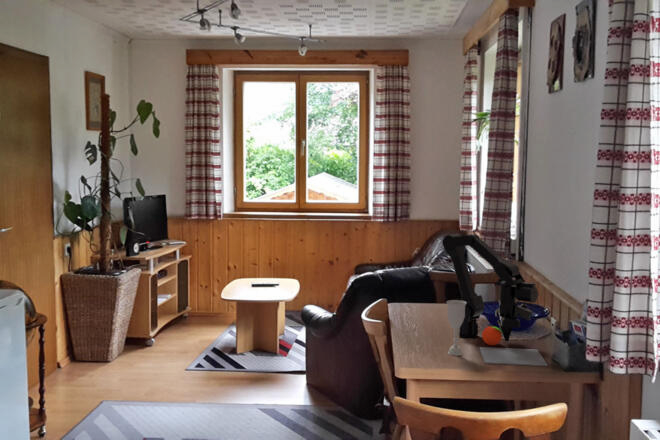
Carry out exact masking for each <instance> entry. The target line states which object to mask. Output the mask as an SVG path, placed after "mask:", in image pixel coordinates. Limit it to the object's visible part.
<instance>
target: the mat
mask: <svg viewBox="0 0 660 440" xmlns="http://www.w3.org/2000/svg"><path fill="white" fill-rule="evenodd" d="M479 351H480V354H481V357H482V360H483V362H484V364H492V365H508V366H509V365H510V366H513V365H515V366H530V367H531V366H532V367H535V366H536V367H548V366H549V365H548V364H547V362H546V360H545V359H544V357H543V356H542V354H541V353H540V352H539V350H538V349H531V348H529V349H528V348H512V347H511V348H510V347H507V348H506V347H490V346H489V347H486V346H484V347H483V346H479Z"/></svg>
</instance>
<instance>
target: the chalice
mask: <svg viewBox="0 0 660 440" xmlns="http://www.w3.org/2000/svg"><path fill="white" fill-rule="evenodd" d="M466 303H467V302H465V301H461V299H460V300H459V299H450V300H447V301H446V304H447V318H448V322H449V324H450V326H451V328H452V329H453V330H454V332H453V336H454V337H453V339H452V340H453V345H451V346H450V348H449V350H448V352H447V354H448V355H449V356H456V357H458V356H462V355H463V352H462V348H461V347H460V346H459V345H458V341H459V339H458V336H459V333H458V330H459V328H460V327H461V325H462V323H463V320H464V318H465V305H466Z"/></svg>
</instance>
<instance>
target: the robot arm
mask: <svg viewBox="0 0 660 440" xmlns="http://www.w3.org/2000/svg"><path fill="white" fill-rule="evenodd" d="M441 244H442V247H443V249H444V251H445V253H446V254H447V255H448V256H449V258H450V259H451V262H452V265H453V269H454V272H455V276H456V280H457V283H458V286H459V291H460V292H461V293H460V294H461V299H460V300H461V301H465V302H467V303H466V305H465V318H464V320H463V323H462V325H461V327H460V328H459V329H458V331H457V334H458V336H459V338H478V335H479V323H478V322H477V320H479V319H480V317H481V315H482V314H483V312H484V310H485V303H484V300H483V296H482V295H481V294H479V295H478V294H477V293H476V291H475V289H474V285H473V282H472V278H471V276H470V275H471V274H470V271H469V268H468V265H467V262H466V257H465V253H466V246H469V247H471V249H473V250H474V251H475V252H476V253H477V254H478V255H479V256H481V258H483V259H484V260H485V261H486V262H487V263H488V264H489V265H490V266H491V267H492V268H493V272H494V273H495V275H497V277H498V278H499V279H498V280H496V282H494V283H493V285H494V286H497V287H498V286H499V299H498V304H499V307H498V308H496V309H495V314H494V315H495V317H496V318H498V317H499V319H497V323H498V325H499V326H498V327H499V329H500V330H501V331H502V333H501V334H503V335H502V337H503V339H504V341H505V342H509V340H510V336H511V332H512V331H513V328H515V329H519V328H521V321H520V320H519V319H518V317H520V318H522V319H525V320H527V321H530V320H531V317H532V314H533V311H532V310H531V309H529V308H528V305H527V304H524V303H521V304H520V305H519V303H518V302H517V300H518V301H521V302H525V303H533V304H535V303H536V302H537V301H538V297H539V291H538V288H537V287H536V282H526V280H525V278H524V277H523V276H522V273H521V272H520V267H519V266H518V265H517V264H516V263H514V262H513V261H511V260H509V259H506V258H504V257H503V256H501V255H499V253H497V252H496V251H495V250H494V249H493V248H492V247H491V246H489V245H488V244H487V243H486V242H485V241H484V240H483V239H482V238H480V236H479V235H477V234H476V233H473V234H467V235H461V234H459V233H455V234H447V235H445V236H444V237H443V239H442V242H441ZM501 331H500V332H501Z"/></svg>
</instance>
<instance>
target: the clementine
mask: <svg viewBox="0 0 660 440" xmlns="http://www.w3.org/2000/svg"><path fill="white" fill-rule="evenodd" d="M502 337H503V334H502V331H501V328H500V327H497V326H493V325H490V326H489V325H488V326H486V327H485V328H484V329H483V331H482V334H481V338H482V340H483V342H484V343H485V344H486V345H489V346H497V345H499V344H500V342H501V341H502Z"/></svg>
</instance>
